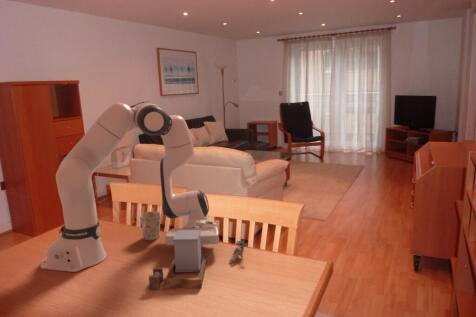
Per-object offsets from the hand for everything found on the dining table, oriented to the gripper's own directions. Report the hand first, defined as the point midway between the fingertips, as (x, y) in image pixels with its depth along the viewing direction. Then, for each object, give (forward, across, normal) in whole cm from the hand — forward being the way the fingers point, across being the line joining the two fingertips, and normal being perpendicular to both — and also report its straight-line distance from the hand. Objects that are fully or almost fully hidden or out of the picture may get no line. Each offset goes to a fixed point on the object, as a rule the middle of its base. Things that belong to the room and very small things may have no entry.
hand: (189, 246), depth 128 cm
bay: (+8, -2, +6) cm, 10 cm away
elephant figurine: (-3, +18, +7) cm, 19 cm away
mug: (-20, -20, +7) cm, 29 cm away
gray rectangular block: (+4, 0, +6) cm, 7 cm away
